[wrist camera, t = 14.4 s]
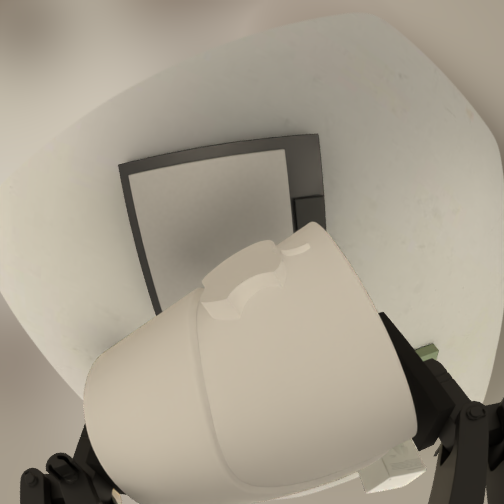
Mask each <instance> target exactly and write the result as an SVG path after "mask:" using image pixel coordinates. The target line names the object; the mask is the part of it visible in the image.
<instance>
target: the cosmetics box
mask: <svg viewBox="0 0 504 504" xmlns="http://www.w3.org/2000/svg"><path fill="white" fill-rule="evenodd" d="M426 470H427V469H426V467H425V465H424V463H423V461H422V459H421V457H420V455H419V453H418V451H417V449H416V448H415V445H414V443H413V442H412V440H411V439H409V440H407V441H405V442H403V443H401V444H399V445H397V446H395V447H393V448H391V449H390V450H389V451H388V452H387V453H386V454H385V455H384V456H383V457H381V458H380V459H379V460H377V461H376V462H374V463H372V464H371V465H369V466H367V467H365V468H364V469H362V470H360V471H358V473H359V476H360V478H361V481H362V484H363V487H364V490H365V493H372V492H379V491H384V490H389V489H394V488H399V487H403V486H405V485H407V484H408V483H410V482H411V481H413V480H414V479H415V478H417V477H418V476H420V475H421V474H422V473H424V472H425V471H426Z"/></svg>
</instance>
